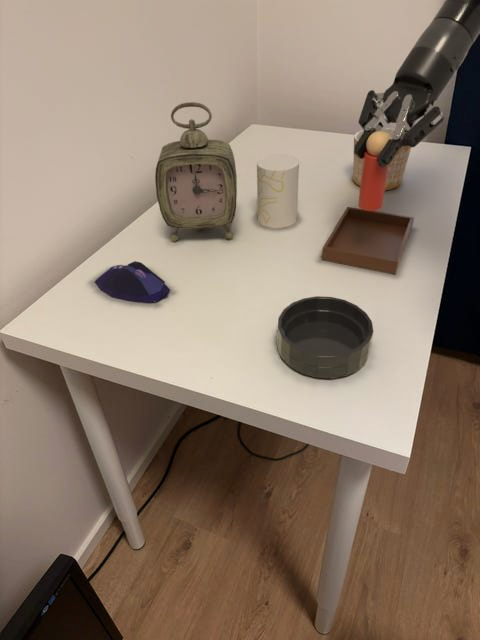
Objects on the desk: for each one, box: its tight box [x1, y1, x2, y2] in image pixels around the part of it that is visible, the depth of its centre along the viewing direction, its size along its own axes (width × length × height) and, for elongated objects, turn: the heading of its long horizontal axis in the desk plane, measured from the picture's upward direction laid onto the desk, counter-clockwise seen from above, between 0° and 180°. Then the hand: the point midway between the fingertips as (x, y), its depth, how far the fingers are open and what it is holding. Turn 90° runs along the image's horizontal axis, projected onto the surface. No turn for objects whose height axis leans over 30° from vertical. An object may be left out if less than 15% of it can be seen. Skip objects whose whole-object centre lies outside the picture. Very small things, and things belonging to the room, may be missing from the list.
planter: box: [352, 127, 412, 191], centre depth 110 cm, size 13×13×10 cm
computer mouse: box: [94, 260, 171, 304], centre depth 83 cm, size 9×15×4 cm, turn 58°
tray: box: [321, 206, 415, 275], centre depth 91 cm, size 17×13×3 cm
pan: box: [276, 295, 374, 379], centre depth 69 cm, size 13×13×4 cm
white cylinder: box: [256, 154, 300, 229], centre depth 97 cm, size 8×8×12 cm
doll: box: [357, 131, 391, 212], centre depth 79 cm, size 4×4×12 cm
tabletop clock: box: [154, 101, 238, 242], centre depth 89 cm, size 14×9×25 cm, turn 90°
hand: (368, 159), depth 76 cm, fingers closed on doll, 4 cm apart
